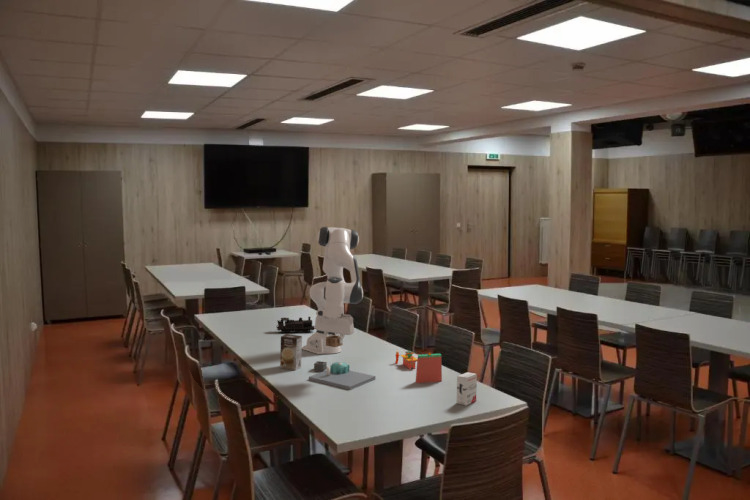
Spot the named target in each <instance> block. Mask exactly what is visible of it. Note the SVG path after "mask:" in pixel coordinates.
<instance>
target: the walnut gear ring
mask: <svg viewBox="0 0 750 500" xmlns="http://www.w3.org/2000/svg"><path fill="white" fill-rule="evenodd" d="M340 337H341V336H340V335H339V336H336V335H332V336H328V337H326V346H331V347H338V346H340V347H341V346H343V345H344V344H343V343H338V339H340Z"/></svg>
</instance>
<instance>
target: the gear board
mask: <svg viewBox="0 0 750 500" xmlns="http://www.w3.org/2000/svg"><path fill="white" fill-rule="evenodd" d="M375 380H376V375H371V374H368V373H363V372H359V371H353V370H350V364H348V363H346V362H342V361H340V362H339V361H337V362H333V363H332V364H330V365H329V366H327V367H326V370H325V371H323V372H321V371H320V372H318V373H315V374H313V375H310V376H308V381H312V382H316V383H320V384H324V385H328V386H333V387H336V388H340V389H345V390H348V391H351V390H353V389H355V388H358V387H360V386H363V385H365V384H368V383H370V382H373V381H375Z"/></svg>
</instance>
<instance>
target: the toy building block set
mask: <svg viewBox="0 0 750 500" xmlns="http://www.w3.org/2000/svg"><path fill="white" fill-rule="evenodd" d="M404 353H405V354H399V351H396V352H395V362H394V363H395V364H397V365H398V363H399V357H400V356H401V357H402V365H404V366H405V367H406V368H407V369H409V370H411V369H413V370H415V371H416V374H415V382H416V384H421V383H422V384H424V383H437V382H442V381H443V377H442V376H443V373H442V371H443V369H442V368H443V367H442V366H443V365H442V363H443V362H442V357H443V356H442V354H441V353H431V352H428V353H425V354H417V357H415V356H414V355H413V354H415V352H413V351H411V350H407V351H406V350H405V351H404Z"/></svg>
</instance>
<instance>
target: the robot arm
mask: <svg viewBox="0 0 750 500" xmlns="http://www.w3.org/2000/svg"><path fill="white" fill-rule="evenodd" d="M316 238H317V242H318V245H319V246H321V247H324V248H325V251H324V257H323V262H322V263H323V264H322V271H323V273H325V275H326V276H327V277H326V278H327V280H326V281H322V282H320V281H319V282H317V283H315V284H312V285H311V286H310V289H309V296H310V299H311V300H312V301H313V302H314V303H315V305H316V307H317V310H316V312H315V314H316V317H315V321H314V322H315V323H314V327H315V329H314V330H315V332H314V333H312V334H311V335H310V336H308V338H307V340H306V344H305V345H303V346H302V350H304V351H307V352H310V353H314V354H317V355H323V354H324V355H327V354H331V355H332V354H338V353H341V352H342V347H341V346H338V347H331V346H326V337H328V336H332V335H336V336H341V337H340V339H338V343H343V341H344V338H345V337H346V336H351V335H353V334H354V333H355V328H354V326H355V325H354V318H353V316H352V315H351V314H346V313H345V304H352V305H357V304H359V303H361V301H363V297H364V290H363V286H362V283H361V277H360V276H361V275H360V271H359V266H358V262H357V258H356V256H354V255H353V254H352V253H351V250H354V249H356V248H357V247H358V245H359V242H360V236H359V233H358V231H356V230H354V229H349V228H345V227H335V226H332V227H331V226H330V227H329V226H322V227H320V228H319V230H318V231H317V236H316ZM344 269H346V270H347V271H348V272H349V273H350V275H351V282H346V281H345V278H344Z"/></svg>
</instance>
